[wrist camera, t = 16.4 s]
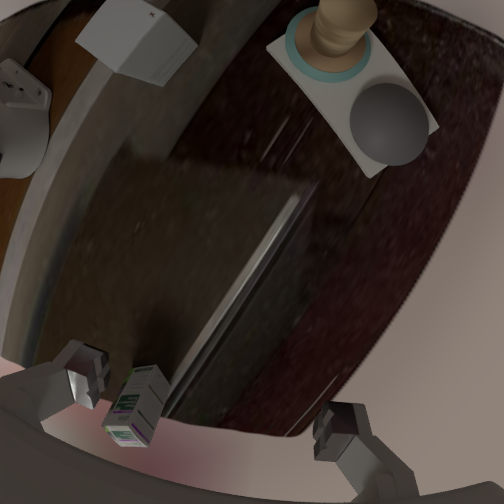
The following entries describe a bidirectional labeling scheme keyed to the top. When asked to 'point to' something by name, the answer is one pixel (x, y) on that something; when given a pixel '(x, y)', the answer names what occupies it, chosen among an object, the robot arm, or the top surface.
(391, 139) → the double oval pad board
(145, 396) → the syrup box
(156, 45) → the supplement box
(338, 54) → the brown cylinder round base
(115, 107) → the top surface
